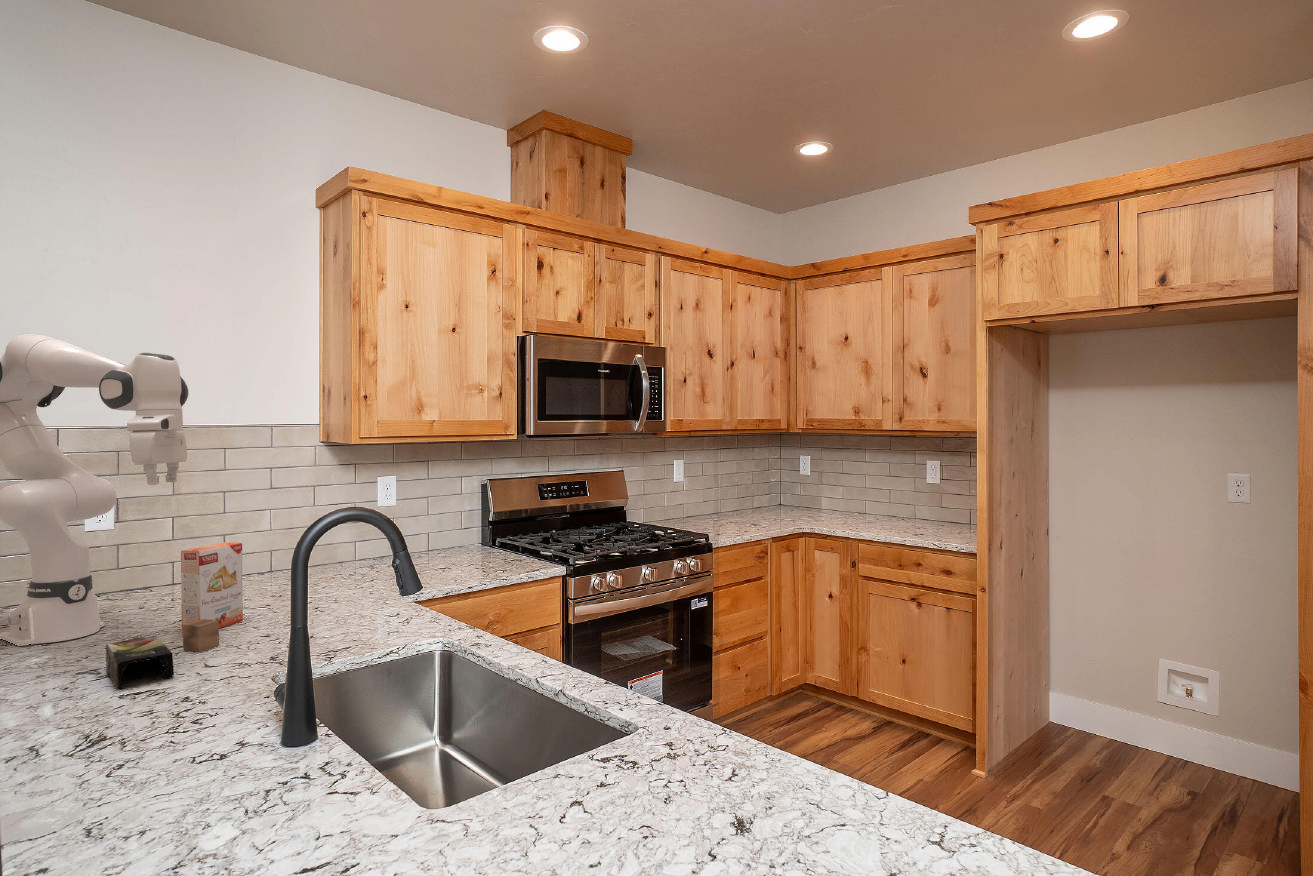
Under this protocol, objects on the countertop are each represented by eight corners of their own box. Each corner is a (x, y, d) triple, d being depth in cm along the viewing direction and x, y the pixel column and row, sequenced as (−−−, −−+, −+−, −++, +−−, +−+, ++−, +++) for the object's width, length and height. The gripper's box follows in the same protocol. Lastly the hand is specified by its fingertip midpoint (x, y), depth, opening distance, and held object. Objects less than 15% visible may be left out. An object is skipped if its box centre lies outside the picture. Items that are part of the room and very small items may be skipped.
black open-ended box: (102, 668, 153) (101, 639, 153) (157, 658, 160) (157, 630, 159) (115, 693, 138) (115, 661, 138) (175, 681, 145) (175, 650, 145)
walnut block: (183, 651, 163) (182, 624, 163) (203, 644, 168) (203, 619, 168) (198, 653, 162) (198, 626, 162) (219, 646, 166) (218, 620, 166)
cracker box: (201, 635, 175) (199, 550, 175) (180, 634, 177) (178, 550, 176) (245, 620, 189) (243, 541, 189) (225, 619, 190) (223, 541, 190)
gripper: (164, 424, 174) (166, 481, 174) (122, 422, 154) (125, 487, 154) (193, 423, 176) (195, 480, 176) (155, 421, 156) (158, 485, 156)
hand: (162, 483), depth 165 cm, fingers open, 8 cm apart
